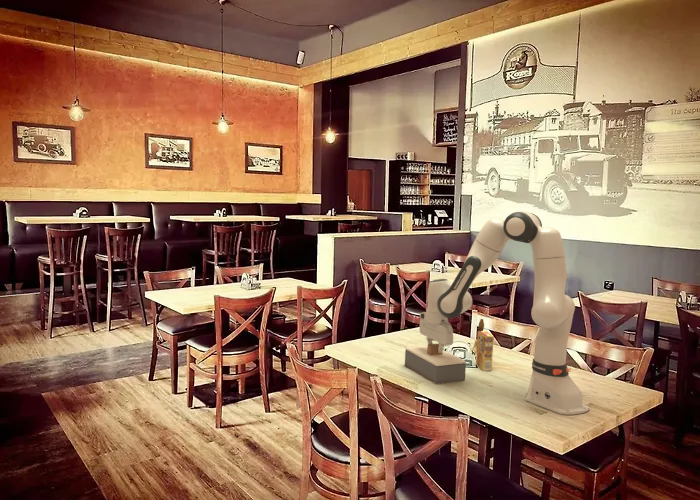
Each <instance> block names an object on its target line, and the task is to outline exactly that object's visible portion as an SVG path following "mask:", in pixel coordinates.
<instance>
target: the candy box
mask: <svg viewBox="0 0 700 500" xmlns="http://www.w3.org/2000/svg"><path fill="white" fill-rule="evenodd" d="M476 340H477V353H476V358H475V359H476V360H475V361H476V362H475V365H476V364H477V365H476V366H477V367H478V368H479V369H480V370H482V371H483V372H486V371H487V372H489V371H490V372H492V370H493V357H494V355H493V354H494V353H493V352H494V335H492V334H491V333H490V332H488V331H485V330H483V331H479V330H478V331H477V339H476Z"/></svg>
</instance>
